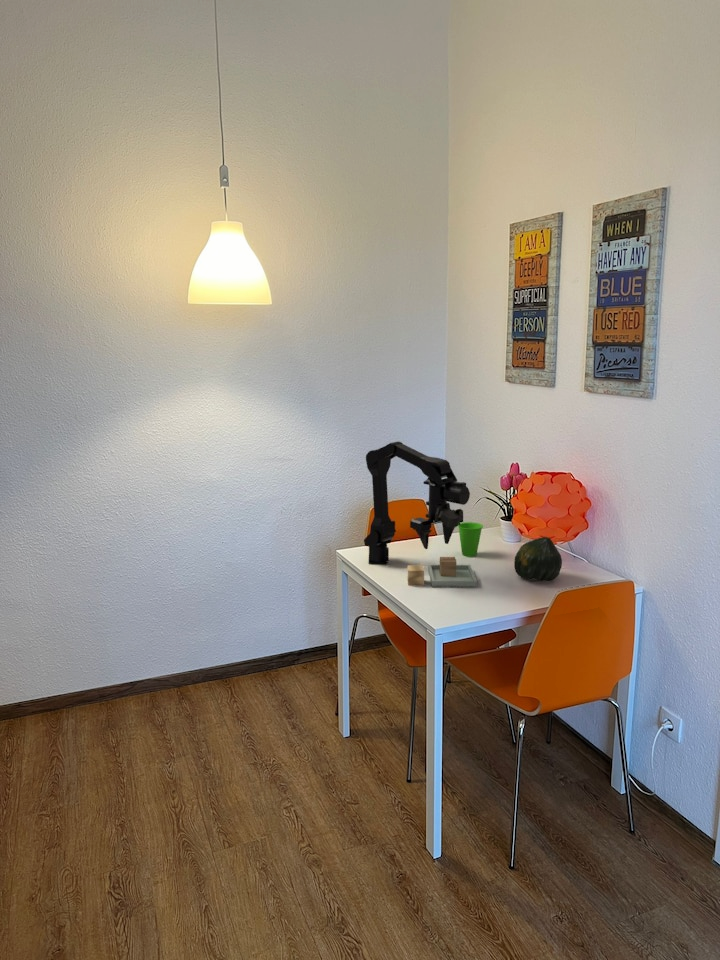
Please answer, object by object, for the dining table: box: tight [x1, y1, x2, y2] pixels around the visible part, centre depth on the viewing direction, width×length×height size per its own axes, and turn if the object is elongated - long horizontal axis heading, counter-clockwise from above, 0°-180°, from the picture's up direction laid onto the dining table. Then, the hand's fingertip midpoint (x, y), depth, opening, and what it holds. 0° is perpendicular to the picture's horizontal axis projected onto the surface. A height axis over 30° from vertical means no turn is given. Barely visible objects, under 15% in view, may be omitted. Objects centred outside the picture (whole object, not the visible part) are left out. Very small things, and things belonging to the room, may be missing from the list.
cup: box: [457, 521, 484, 558], centre depth 250 cm, size 9×9×11 cm
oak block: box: [407, 564, 425, 587], centre depth 222 cm, size 5×5×5 cm
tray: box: [427, 564, 478, 588], centre depth 226 cm, size 14×16×2 cm
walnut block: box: [439, 556, 458, 576], centre depth 229 cm, size 5×5×5 cm
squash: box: [513, 536, 563, 582], centre depth 225 cm, size 14×15×15 cm
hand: (436, 546), depth 225 cm, fingers open, 9 cm apart
